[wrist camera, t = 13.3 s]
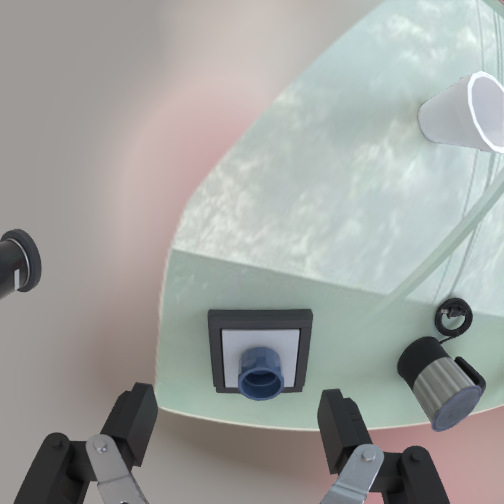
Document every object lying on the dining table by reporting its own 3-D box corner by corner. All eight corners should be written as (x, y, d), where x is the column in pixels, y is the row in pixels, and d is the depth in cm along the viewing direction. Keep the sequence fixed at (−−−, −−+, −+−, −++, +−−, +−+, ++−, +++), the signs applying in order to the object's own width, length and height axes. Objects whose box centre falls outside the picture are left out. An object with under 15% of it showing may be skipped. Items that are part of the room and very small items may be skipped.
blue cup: (239, 376, 38) (238, 400, 33) (238, 344, 36) (237, 367, 31) (279, 376, 38) (282, 400, 33) (281, 344, 36) (285, 367, 31)
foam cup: (410, 82, 30) (465, 57, 17) (457, 105, 30) (514, 93, 18) (406, 142, 32) (467, 135, 20) (454, 161, 33) (515, 164, 20)
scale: (214, 380, 42) (212, 392, 39) (209, 309, 38) (206, 319, 35) (302, 379, 42) (305, 392, 39) (311, 309, 38) (315, 319, 36)
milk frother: (394, 384, 43) (426, 440, 29) (398, 312, 39) (449, 366, 25) (454, 359, 42) (493, 403, 28) (464, 288, 38) (520, 326, 24)
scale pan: (226, 381, 40) (225, 387, 38) (222, 325, 37) (221, 331, 36) (292, 380, 40) (293, 386, 38) (298, 325, 37) (299, 330, 36)
